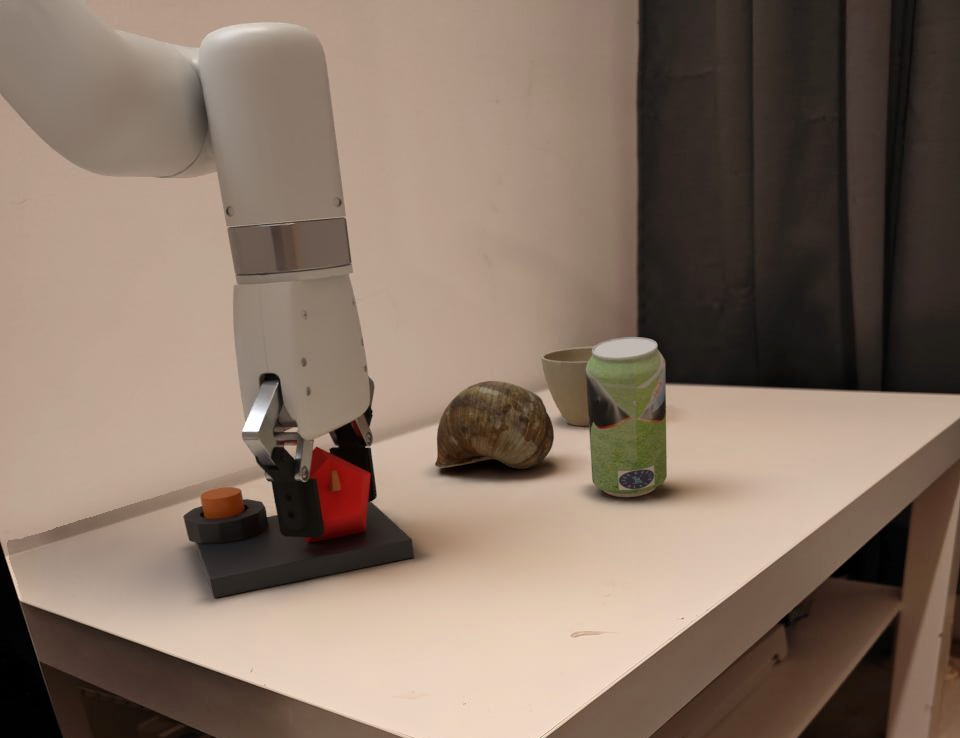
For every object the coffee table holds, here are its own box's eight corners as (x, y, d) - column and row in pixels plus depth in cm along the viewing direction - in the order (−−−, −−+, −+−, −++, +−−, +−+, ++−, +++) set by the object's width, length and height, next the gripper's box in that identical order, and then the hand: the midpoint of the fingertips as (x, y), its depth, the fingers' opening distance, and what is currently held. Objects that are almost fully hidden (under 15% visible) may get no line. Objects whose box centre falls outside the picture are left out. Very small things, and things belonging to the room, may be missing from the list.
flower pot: (554, 435, 97) (551, 364, 94) (537, 416, 106) (533, 351, 103) (648, 425, 97) (648, 354, 94) (623, 407, 106) (622, 342, 103)
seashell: (574, 461, 86) (571, 373, 83) (516, 488, 80) (509, 393, 77) (479, 451, 93) (472, 368, 90) (417, 475, 87) (407, 387, 83)
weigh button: (207, 524, 68) (202, 501, 68) (202, 514, 71) (197, 491, 70) (248, 516, 69) (243, 494, 69) (242, 507, 72) (238, 484, 71)
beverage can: (663, 478, 79) (664, 330, 74) (671, 503, 73) (672, 344, 68) (589, 481, 80) (584, 336, 75) (589, 507, 73) (585, 349, 68)
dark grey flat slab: (207, 599, 62) (197, 557, 61) (188, 545, 73) (180, 508, 72) (414, 557, 66) (409, 517, 65) (367, 511, 77) (362, 476, 76)
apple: (270, 453, 69) (281, 432, 62) (360, 457, 71) (383, 437, 64) (271, 546, 69) (283, 537, 62) (362, 547, 71) (384, 539, 64)
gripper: (307, 248, 69) (341, 482, 76) (159, 269, 54) (218, 556, 61) (400, 241, 66) (425, 484, 74) (270, 261, 51) (319, 562, 59)
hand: (331, 515), depth 67 cm, fingers open, 7 cm apart
